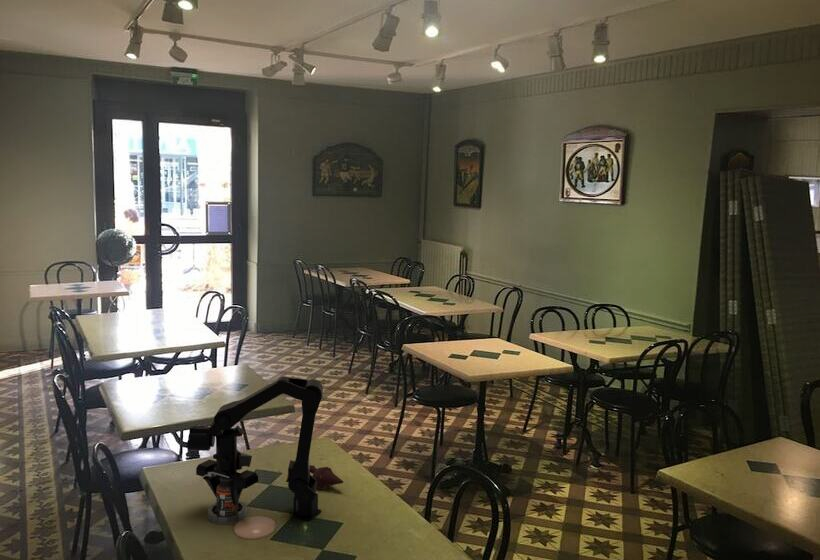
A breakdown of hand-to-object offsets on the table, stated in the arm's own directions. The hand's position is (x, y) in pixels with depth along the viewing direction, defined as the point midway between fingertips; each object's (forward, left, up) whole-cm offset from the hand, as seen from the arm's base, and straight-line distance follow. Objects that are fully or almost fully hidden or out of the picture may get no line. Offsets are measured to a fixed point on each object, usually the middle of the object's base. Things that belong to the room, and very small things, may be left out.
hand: (227, 501), depth 189 cm
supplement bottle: (0, 0, -4) cm, 4 cm away
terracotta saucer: (-12, +2, -4) cm, 13 cm away
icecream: (-14, -29, -4) cm, 32 cm away
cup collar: (0, 0, -4) cm, 4 cm away
